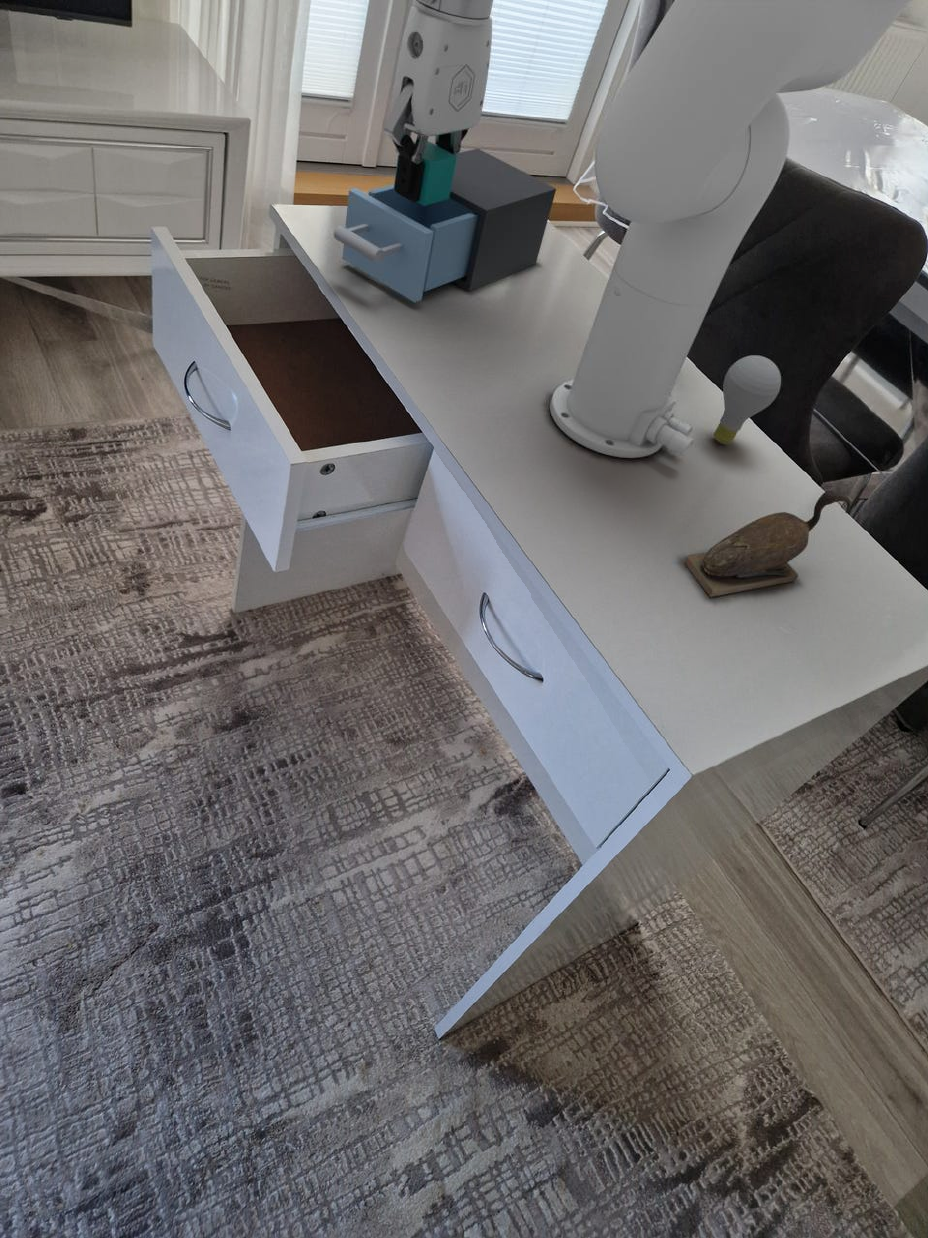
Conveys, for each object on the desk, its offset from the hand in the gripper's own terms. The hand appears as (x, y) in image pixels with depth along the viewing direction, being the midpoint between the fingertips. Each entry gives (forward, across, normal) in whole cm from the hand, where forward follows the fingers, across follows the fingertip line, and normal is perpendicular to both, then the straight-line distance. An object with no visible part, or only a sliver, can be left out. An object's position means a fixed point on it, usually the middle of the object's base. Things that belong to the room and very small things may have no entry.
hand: (422, 190), depth 91 cm
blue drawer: (+9, -1, 0) cm, 9 cm away
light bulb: (+10, +3, -42) cm, 43 cm away
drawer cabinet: (+10, +11, 0) cm, 15 cm away
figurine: (+10, -13, -54) cm, 56 cm away
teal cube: (0, 0, 0) cm, 0 cm away
